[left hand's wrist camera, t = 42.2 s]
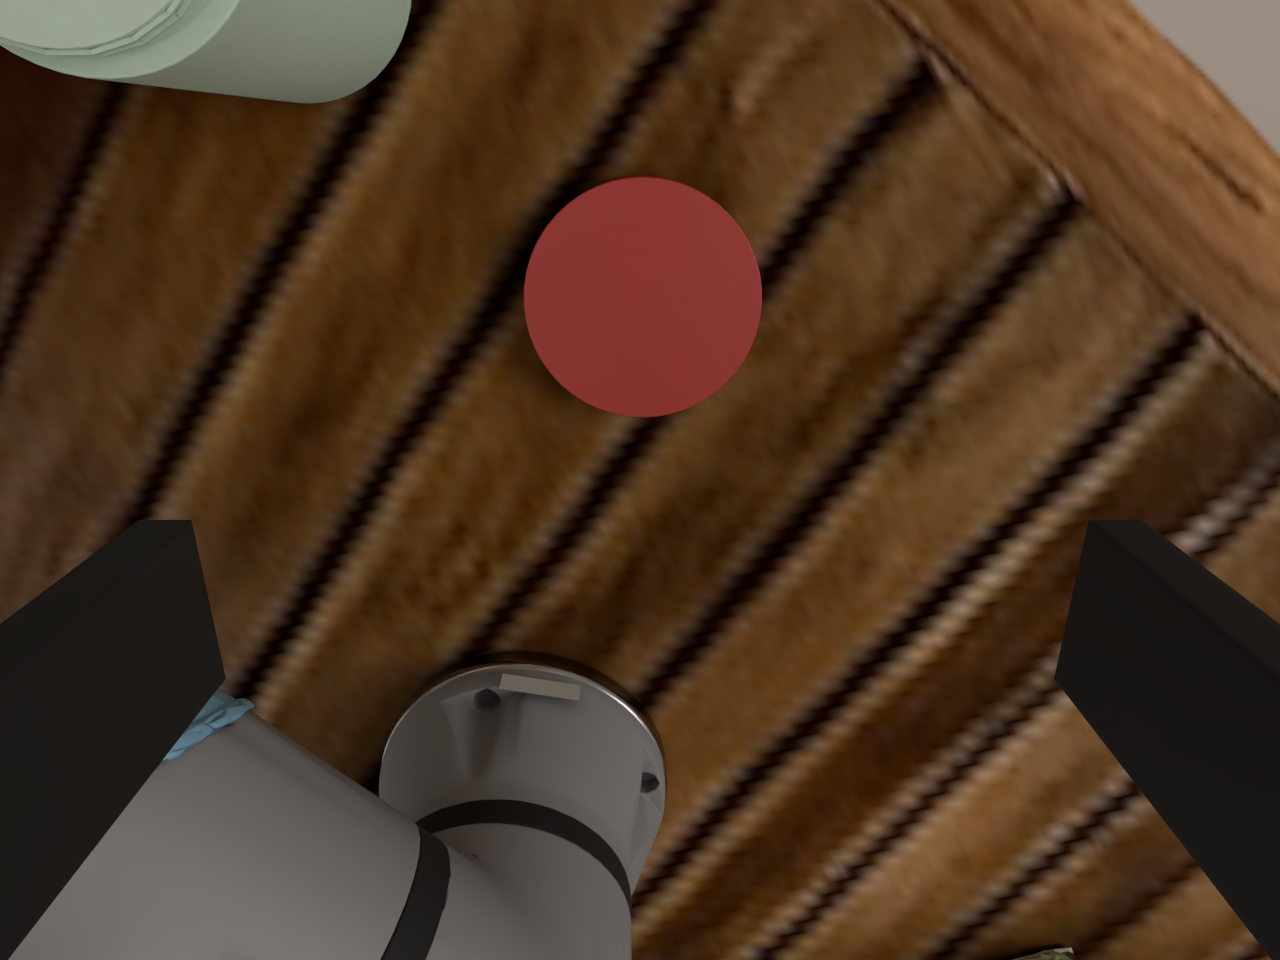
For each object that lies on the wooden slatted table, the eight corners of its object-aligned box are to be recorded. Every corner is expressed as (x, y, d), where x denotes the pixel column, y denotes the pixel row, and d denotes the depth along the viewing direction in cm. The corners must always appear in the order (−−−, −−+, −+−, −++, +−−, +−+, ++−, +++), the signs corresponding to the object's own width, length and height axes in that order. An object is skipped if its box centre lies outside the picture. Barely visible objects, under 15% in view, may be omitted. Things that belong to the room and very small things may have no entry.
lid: (795, 233, 36) (803, 237, 34) (699, 437, 39) (702, 450, 38) (577, 135, 34) (574, 134, 33) (497, 355, 38) (490, 365, 36)
